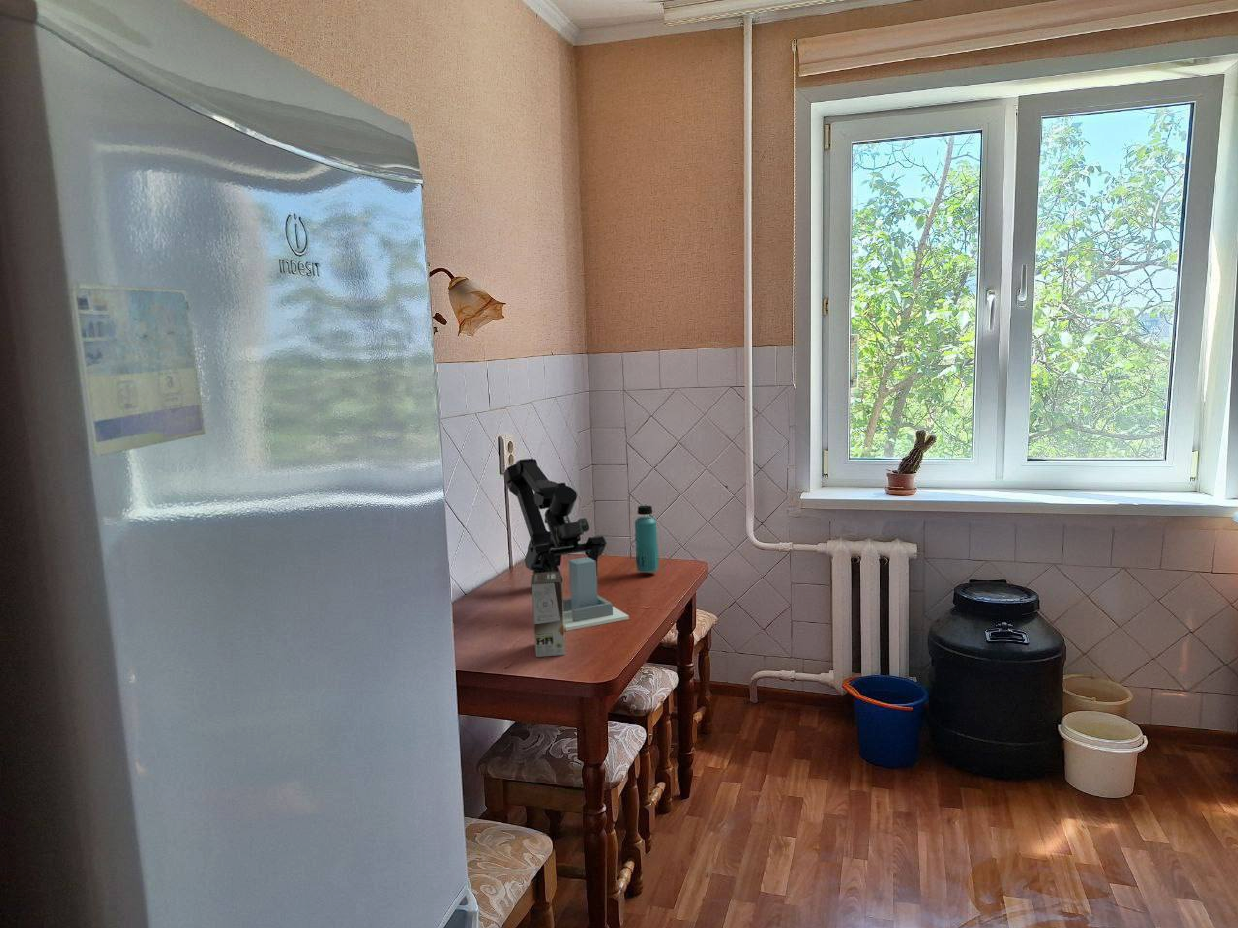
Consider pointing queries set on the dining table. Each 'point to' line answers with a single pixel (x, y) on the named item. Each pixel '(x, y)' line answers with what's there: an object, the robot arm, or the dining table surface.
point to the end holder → (590, 614)
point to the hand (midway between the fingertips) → (578, 579)
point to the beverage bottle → (646, 541)
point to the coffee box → (548, 614)
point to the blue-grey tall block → (583, 583)
